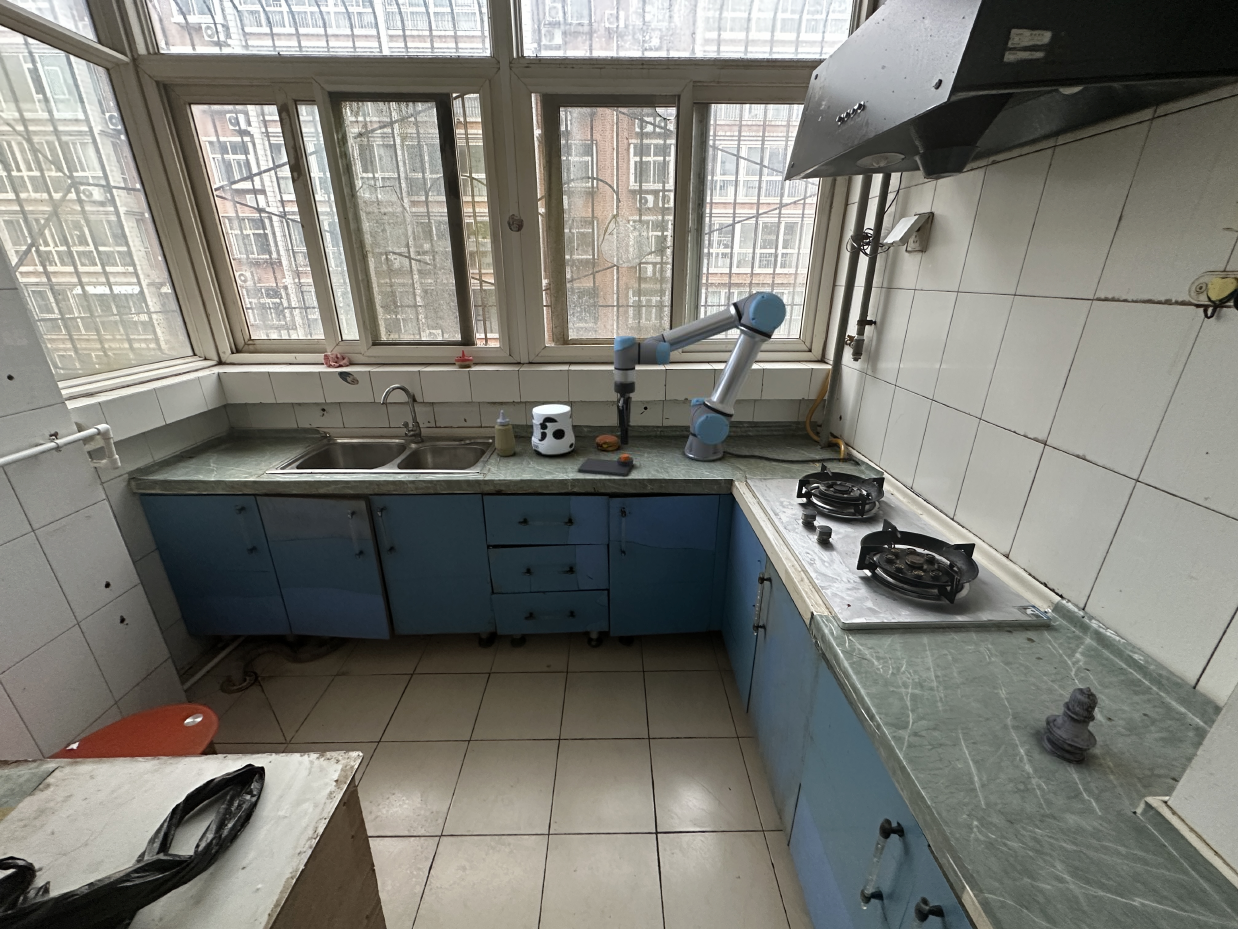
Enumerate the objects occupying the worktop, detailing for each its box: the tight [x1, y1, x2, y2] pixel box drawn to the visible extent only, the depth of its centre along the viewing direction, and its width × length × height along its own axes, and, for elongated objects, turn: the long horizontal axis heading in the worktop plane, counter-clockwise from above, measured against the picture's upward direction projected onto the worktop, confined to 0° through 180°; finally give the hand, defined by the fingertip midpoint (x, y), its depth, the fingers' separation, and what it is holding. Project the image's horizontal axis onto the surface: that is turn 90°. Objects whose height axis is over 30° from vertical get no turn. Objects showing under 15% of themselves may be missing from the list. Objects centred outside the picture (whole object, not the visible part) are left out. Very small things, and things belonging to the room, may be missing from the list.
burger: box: [595, 434, 620, 451], centre depth 208 cm, size 10×9×5 cm
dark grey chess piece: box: [1040, 686, 1099, 765], centre depth 74 cm, size 6×6×12 cm
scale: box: [577, 456, 634, 477], centre depth 186 cm, size 18×12×3 cm
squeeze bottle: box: [494, 410, 516, 457], centre depth 199 cm, size 8×8×18 cm
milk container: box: [531, 403, 576, 457], centre depth 201 cm, size 17×17×18 cm
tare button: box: [620, 453, 630, 461], centre depth 187 cm, size 3×3×2 cm
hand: (624, 444), depth 185 cm, fingers closed
